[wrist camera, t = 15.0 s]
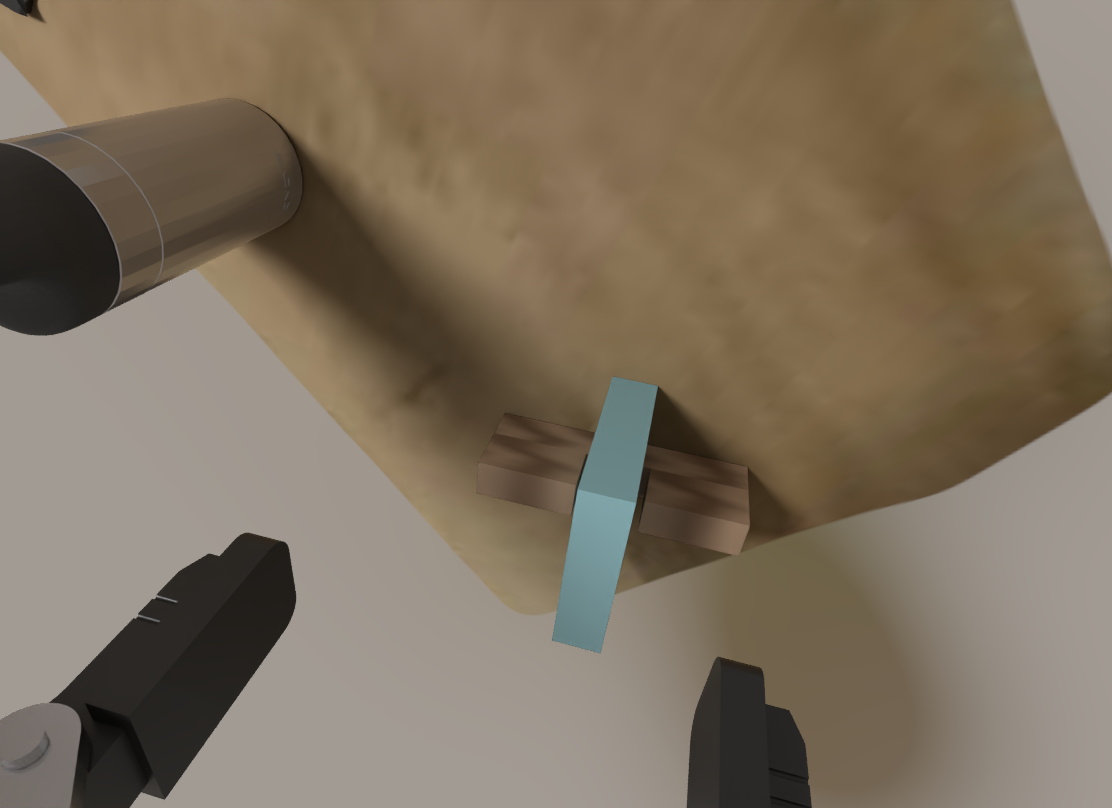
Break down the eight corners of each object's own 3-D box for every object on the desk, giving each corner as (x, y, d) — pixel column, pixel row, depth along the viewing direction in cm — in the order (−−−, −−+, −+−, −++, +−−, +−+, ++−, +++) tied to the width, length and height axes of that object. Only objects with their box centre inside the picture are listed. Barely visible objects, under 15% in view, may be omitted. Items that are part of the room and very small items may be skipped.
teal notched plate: (626, 521, 57) (600, 653, 46) (587, 511, 58) (552, 640, 46) (657, 386, 50) (636, 503, 38) (612, 376, 50) (577, 489, 38)
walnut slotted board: (502, 442, 56) (476, 493, 50) (505, 413, 54) (478, 462, 48) (737, 495, 53) (738, 556, 47) (747, 466, 52) (749, 525, 46)
